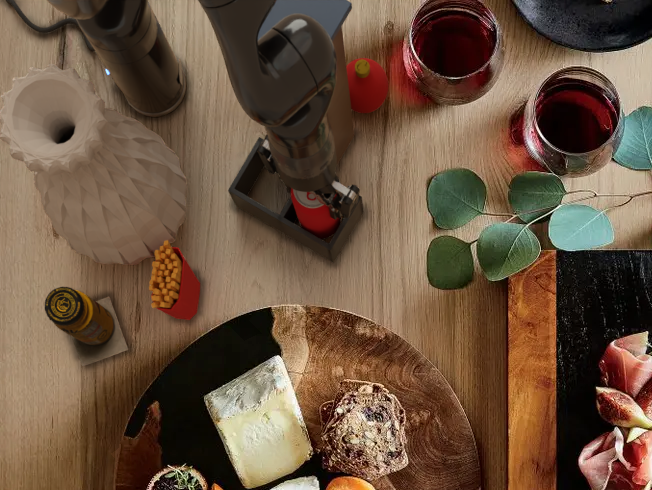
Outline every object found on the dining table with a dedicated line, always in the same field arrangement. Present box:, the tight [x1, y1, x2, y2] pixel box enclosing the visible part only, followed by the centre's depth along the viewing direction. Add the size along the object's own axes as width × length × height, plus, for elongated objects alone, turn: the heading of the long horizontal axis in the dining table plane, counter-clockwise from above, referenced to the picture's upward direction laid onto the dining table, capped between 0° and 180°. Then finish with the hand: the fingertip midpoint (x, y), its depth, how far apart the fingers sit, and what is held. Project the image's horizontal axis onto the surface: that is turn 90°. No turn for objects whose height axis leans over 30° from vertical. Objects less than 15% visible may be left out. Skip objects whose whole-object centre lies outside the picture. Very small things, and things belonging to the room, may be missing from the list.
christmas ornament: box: [346, 57, 389, 114], centre depth 117 cm, size 7×7×10 cm
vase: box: [0, 63, 188, 266], centre depth 107 cm, size 20×20×30 cm
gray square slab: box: [258, 0, 353, 42], centre depth 91 cm, size 11×10×1 cm
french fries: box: [148, 240, 201, 321], centre depth 116 cm, size 9×4×13 cm, turn 173°
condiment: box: [44, 286, 129, 367], centre depth 116 cm, size 7×8×12 cm
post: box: [327, 25, 355, 166], centre depth 107 cm, size 9×8×30 cm
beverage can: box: [290, 188, 342, 240], centre depth 115 cm, size 6×6×12 cm
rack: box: [227, 136, 365, 264], centre depth 119 cm, size 17×9×6 cm, turn 60°
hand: (315, 199), depth 113 cm, fingers closed on beverage can, 6 cm apart
